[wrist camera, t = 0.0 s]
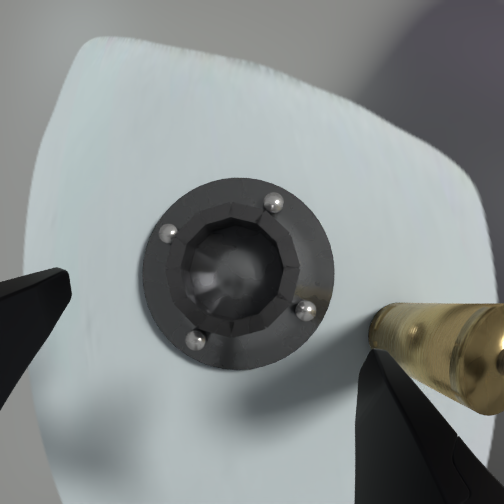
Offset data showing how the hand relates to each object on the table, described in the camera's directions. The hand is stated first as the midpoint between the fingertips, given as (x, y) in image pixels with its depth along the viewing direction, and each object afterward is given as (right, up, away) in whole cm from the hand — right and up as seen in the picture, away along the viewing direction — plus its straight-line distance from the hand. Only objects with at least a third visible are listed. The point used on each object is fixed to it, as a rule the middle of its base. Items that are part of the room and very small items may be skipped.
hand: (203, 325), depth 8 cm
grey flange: (0, 0, +15) cm, 15 cm away
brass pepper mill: (+12, -4, +14) cm, 19 cm away
